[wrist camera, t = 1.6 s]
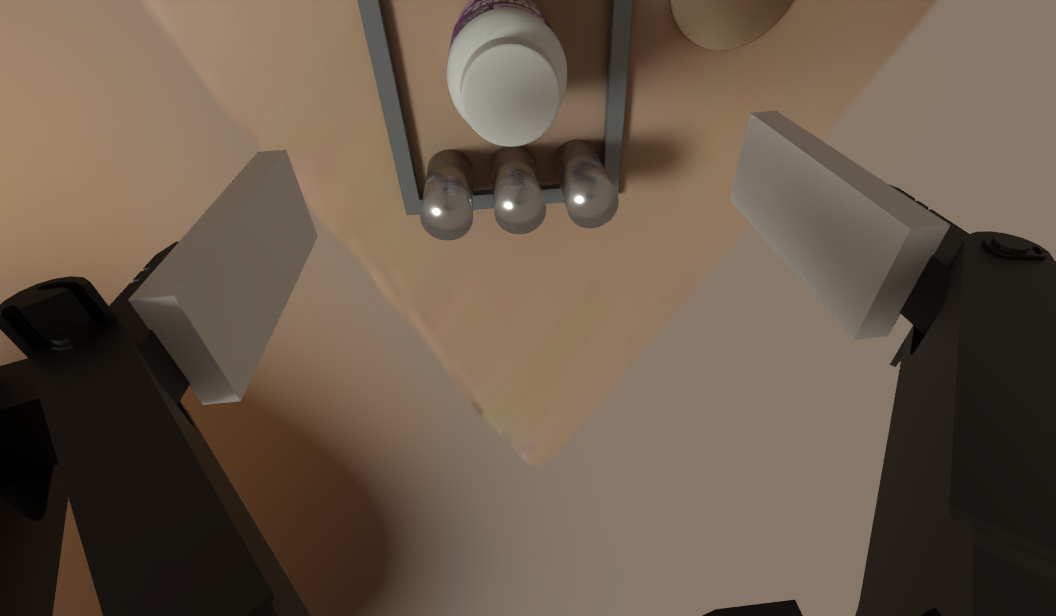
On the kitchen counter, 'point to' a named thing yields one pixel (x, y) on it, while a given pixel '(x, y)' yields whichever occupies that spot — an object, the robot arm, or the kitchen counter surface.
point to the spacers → (516, 190)
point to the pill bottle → (506, 70)
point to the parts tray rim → (484, 199)
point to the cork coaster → (726, 20)
